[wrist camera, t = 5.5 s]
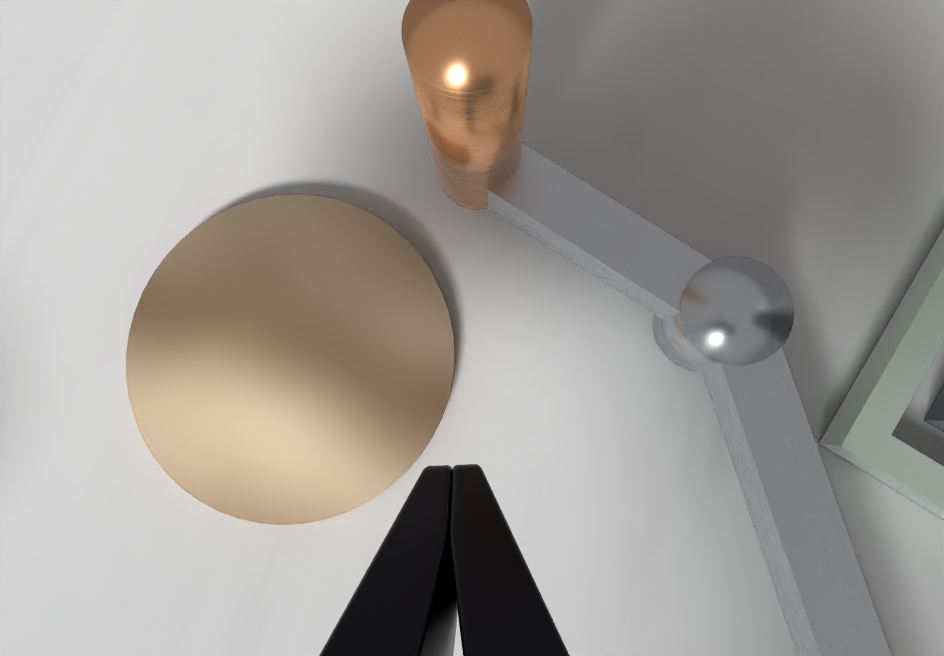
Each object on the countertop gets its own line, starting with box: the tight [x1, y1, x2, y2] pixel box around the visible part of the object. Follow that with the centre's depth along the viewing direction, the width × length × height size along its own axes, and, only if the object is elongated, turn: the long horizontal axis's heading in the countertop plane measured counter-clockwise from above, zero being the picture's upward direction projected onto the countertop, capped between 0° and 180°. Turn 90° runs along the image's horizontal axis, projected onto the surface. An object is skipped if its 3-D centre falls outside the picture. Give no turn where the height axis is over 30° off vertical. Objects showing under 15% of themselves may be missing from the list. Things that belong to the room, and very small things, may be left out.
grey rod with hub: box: [402, 0, 892, 656], centre depth 14 cm, size 21×8×8 cm, turn 16°
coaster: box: [126, 194, 455, 525], centre depth 19 cm, size 10×10×1 cm
